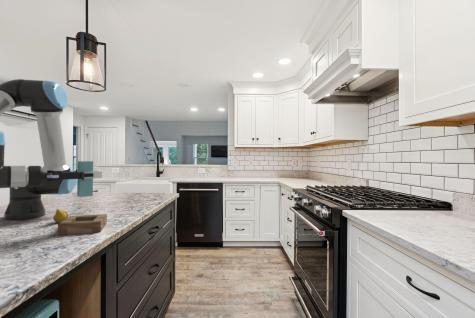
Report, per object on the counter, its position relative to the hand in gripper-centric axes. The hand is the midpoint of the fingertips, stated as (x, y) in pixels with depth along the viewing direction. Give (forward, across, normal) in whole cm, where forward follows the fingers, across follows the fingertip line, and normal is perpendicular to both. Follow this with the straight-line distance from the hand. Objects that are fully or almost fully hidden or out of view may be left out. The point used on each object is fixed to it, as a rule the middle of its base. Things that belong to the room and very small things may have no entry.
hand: (99, 174), depth 103 cm
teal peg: (-5, 0, -8) cm, 10 cm away
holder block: (-5, 0, -22) cm, 23 cm away
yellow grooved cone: (-10, -18, -22) cm, 30 cm away
